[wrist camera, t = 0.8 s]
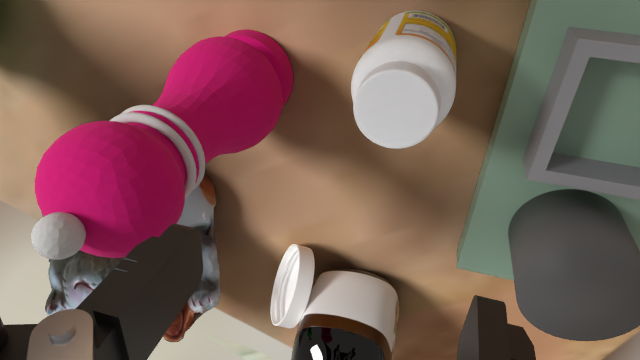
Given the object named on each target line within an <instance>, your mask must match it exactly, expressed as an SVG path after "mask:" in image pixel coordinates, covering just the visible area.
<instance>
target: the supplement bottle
mask: <svg viewBox="0 0 640 360" xmlns="http://www.w3.org/2000/svg"><path fill="white" fill-rule="evenodd" d="M456 67H457V48H456V41H455V38H454V35H453V33H452V31H451V30H450V28H449V27H448V26H447V24H446V23H445V22H444V21H442V20H441V19H440V18H438V17H437V16H435V15H433V14H431V13H428V12H424V11H406V12H402V13H399V14H397V15H395V16H393V17H392V18H390V19H389V20H387V21H386V22H385V23H384V24H383V25H382V26H381V27H380V29H379V30H378V31H377V33H376V34H375V36H374V38H373V39H372V41H371V42H370V44H369V46H368V47H367V49H366V50H365V52H364V53H363V55H362V56H361V58H360V59H359V61H358V63H357V65H356V67H355V70H354V73H353V76H352V81H351V95H352V100H353V103H354V105H353V111H354V117H355V121H356V123H357V125H358V127H359V129H360V130H361V132H362V133H363V134H364V135H365V136H366V137H367V138H368V139H369V140H371V141H372V142H374V143H376V144H378V145H380V146H383V147H386V148H393V149H401V148H407V147H411V146H413V145H416V144H418V143H420V142H421V141H423V140H424V139H425V138H426V137H427V136H428V135H429V134H430V133H431V132H432V130H433V129H434V128H435V127H436V126H438V125H439V124H440V123H441V122H442V121H443V120H444V119H445V117H446V116H447V114H448V113H449V111H450V109H451V107H452V105H453V102H454V98H455V92H456Z"/></svg>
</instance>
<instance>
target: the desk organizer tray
mask: <svg viewBox="0 0 640 360" xmlns="http://www.w3.org/2000/svg"><path fill="white" fill-rule="evenodd" d="M457 268H460V269H464V270H469V271H473V272H478V273H482V274H487V275H491V276H496V277H500V278H505V279H509V280H514V284H515V291H516V299H517V303H518V307H519V309H520V311H521V313H522V314H523V316H524V317H525V318H526V319H527V320H528V321H529V322H530V323H531V324H532V325H534V326H535V327H537V328H538V329H540V330H542V331H544V332H546V333H548V334H550V335H553V336H556V337H559V338H563V339H569V340H576V341H597V340H604V339H609V338H614V337H617V336H620V335H623V334H625V333H627V332H630V331H631V330H633V329H635V328H637V327H638V326H639V325H640V0H531V2H530V5H529V9H528V12H527V15H526V19H525V22H524V26H523V29H522V32H521V36H520V39H519V43H518V46H517V49H516V53H515V56H514V59H513V63H512V66H511V70H510V73H509V76H508V80H507V83H506V87H505V90H504V93H503V97H502V100H501V104H500V107H499V110H498V114H497V117H496V120H495V124H494V127H493V131H492V134H491V137H490V141H489V144H488V148H487V151H486V154H485V158H484V161H483V165H482V168H481V171H480V175H479V178H478V181H477V185H476V188H475V192H474V195H473V198H472V202H471V205H470V209H469V212H468V215H467V219H466V222H465V226H464V229H463V232H462V236H461V239H460V242H459V246H458V249H457Z"/></svg>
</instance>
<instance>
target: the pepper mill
mask: <svg viewBox="0 0 640 360" xmlns="http://www.w3.org/2000/svg"><path fill="white" fill-rule="evenodd" d="M293 82H294V77H293V70H292V67H291V63H290V60H289V58H288V56H287V55H286V53H285V51H284V50H283V49H282V48H281V47H280V45H279V44H278V43H277V42H275V41H274V40H273V39H272V38H270V37H268V36H267V35H265V34H263V33H260V32H257V31H254V30H238V31H235V32H232V33H230V34H228V35H226V36H225V37H213V38H207V39H204V40H201V41H199V42H198V43H196V44H194V45H193V46H192V47H190V48H189V49H188V50H186V51H185V52H184V53H183V54H182V55H181V56H180V57H179V58H178V60H177V61H176V62H175V64H174V65H173V67H172V68H171V70H170V72H169V74H168V77H167V80H166V83H165V86H164V89H163V92H162V94H161V96H160V97H159V99H158V100H157V102H156V103H154V104H153V105H152V106H151V105H138V106H133V107H131V108H128V109H126V110H125V111H123V112H122V113H121V114H120V115H117V116H115V117H114V118H112V119H111V120H110V121H96V122H91V123H85V124H82V125H79V126H77V127H75V128H73V129H71V130H70V131H68V132H67V133H65V134H64V135H62V136H61V137H60V138H58V139H57V140H56V141H55V142H54V143H53V144H52V145H51V146H50V148H49V149H48V150H47V151H46V152H45V153H44V155H43V157H42V159H41V161H40V163H39V165H38V167H37V173H36V178H35V193H36V198H37V202H38V205H39V207H40V209H41V212H42V214H43V216H44V217H43V218H41V219H40V220H39V221H38V222H37V223H36V225H35V226H34V228H33V231H32V238H31V240H32V244H33V246H34V248H35V250H36V251H37V252H38V253H39V254H41V255H42V256H44V257H46V258H48V259H54V260H60V259H65V258H68V257H71V256H72V255H74V254H76V253H77V252H78V251H79V250H81V251H83V252H86V253H89V254H92V255H95V256H100V257H108V258H122V257H126V255H127V254H128V253H129V252H130V251H131V250H132V249H133V248H134V247H135V246H136V245H138V244H139V243H141V242H143V241H145V240H146V239H148V238H150V237H152V236H155V237H160V236H161V235H162V233H163V232H164V231H165V230H166V229H167V228H168V227H169V226H170V225H171V224H173V223H175V224H177V222H178V220H179V219H180V217H181V215H182V212H183V208H184V204H185V199H186V198H187V197H188V196H189V195H190V194H191V192H192V191H193V190H194V189H195V188H196V187H197V186H198V185H199V184H200V182H201V181H202V179H203V176H204V172H205V164H206V163H207V162H209V161H210V160H211V159H212V158H214V157H216V156H218V155H221V154H229V153H237V152H240V151H243V150H245V149H248V148H250V147H253V146H254V145H256V144H258V143H259V142H260V141H261V140H263V139H264V138H265V137H266V136H267V135H268V134H269V133H270V132H271V131H272V130H273V128H274V127H275V126H276V124H277V122H278V120H279V117H280V114H281V111H282V107H283V106H284V104H285V103H286V102H287V101H288V99H289V97H290V95H291V93H292V89H293Z"/></svg>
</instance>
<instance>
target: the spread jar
mask: <svg viewBox="0 0 640 360" xmlns="http://www.w3.org/2000/svg"><path fill="white" fill-rule="evenodd" d="M314 268H315V263H314V254H313V252H312V250H311V249H310V248H308V247H304V246H300V245H297V244H292V245H291V246H290V247H289V248H288V249H287V251H286V252H285V254H284V256H283V258H282V260H281V263H280V265H279V268H278V271H277V274H276V278H275V282H274V286H273V291H272V297H271V308H270V312H271V320H272V323H273V324H274V325H276V326H280V327H285V328H290V329H291V328H294V327H295V326H296V325H297V324H298V322H299V321H300V320H301V321H300V324H299V327H298V330H297V334H296V337H295V342H294V346H293V351H292V358H291V360H392V359H393V352H394V346H395V339H396V333H397V326H398V318H399V300H398V295H397V292H396V289H395V288H394V286H393V285H392V284H391V283H390V282H388V281H387V280H386V279H384V278H382V277H380V276H378V275H375V274H373V273H370V272H367V271H363V270H357V269H333V270H328V271H326V272H324V273H322V274H321V275H320V276H319V277H318V279H317V281H316V283H315V285H314V287H313V289H312V285H313V279H314ZM311 290H312V292H311Z"/></svg>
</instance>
